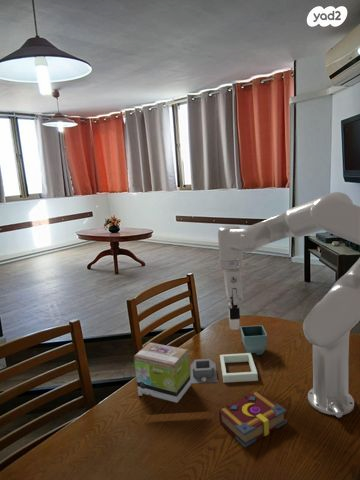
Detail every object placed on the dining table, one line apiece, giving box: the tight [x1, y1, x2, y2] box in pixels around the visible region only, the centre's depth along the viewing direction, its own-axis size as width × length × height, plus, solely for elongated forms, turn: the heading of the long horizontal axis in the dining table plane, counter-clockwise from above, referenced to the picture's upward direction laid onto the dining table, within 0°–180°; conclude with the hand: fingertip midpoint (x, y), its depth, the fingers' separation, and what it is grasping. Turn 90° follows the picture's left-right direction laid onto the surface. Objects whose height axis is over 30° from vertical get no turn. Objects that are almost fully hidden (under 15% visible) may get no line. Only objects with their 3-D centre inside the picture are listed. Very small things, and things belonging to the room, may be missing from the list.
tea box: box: [133, 341, 192, 403], centre depth 114 cm, size 15×10×15 cm
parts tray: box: [219, 352, 259, 384], centre depth 121 cm, size 13×11×4 cm
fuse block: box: [190, 358, 218, 384], centre depth 122 cm, size 12×9×4 cm
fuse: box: [227, 301, 241, 331], centre depth 118 cm, size 4×4×9 cm
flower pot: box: [239, 325, 268, 356], centre depth 134 cm, size 9×9×9 cm
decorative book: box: [218, 390, 287, 448], centre depth 98 cm, size 11×16×5 cm
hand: (234, 315), depth 118 cm, fingers closed on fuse, 3 cm apart
